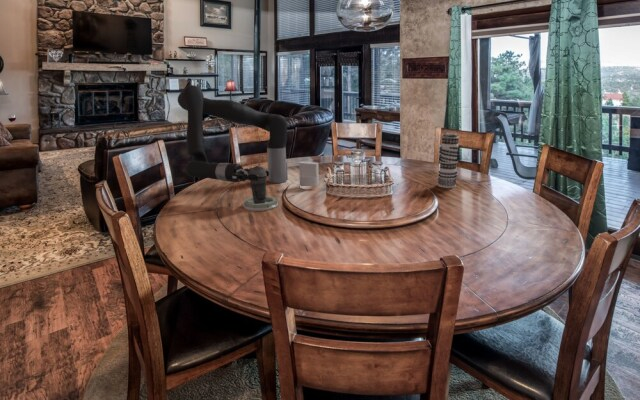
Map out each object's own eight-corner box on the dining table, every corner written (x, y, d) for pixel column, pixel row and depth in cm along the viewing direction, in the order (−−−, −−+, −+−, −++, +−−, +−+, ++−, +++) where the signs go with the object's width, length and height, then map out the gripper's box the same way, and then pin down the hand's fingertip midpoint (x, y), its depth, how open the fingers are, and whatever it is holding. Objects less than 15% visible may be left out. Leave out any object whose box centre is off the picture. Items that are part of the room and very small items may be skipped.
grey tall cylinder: (458, 184, 213) (462, 132, 206) (455, 188, 205) (459, 135, 198) (439, 182, 217) (442, 131, 210) (435, 187, 209) (438, 134, 202)
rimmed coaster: (259, 199, 189) (258, 194, 189) (284, 204, 182) (284, 198, 181) (236, 207, 178) (235, 201, 178) (262, 213, 171) (262, 206, 170)
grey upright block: (296, 188, 207) (296, 163, 204) (304, 184, 215) (304, 160, 212) (314, 190, 204) (313, 165, 200) (321, 186, 212) (321, 161, 208)
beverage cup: (251, 201, 183) (248, 154, 177) (269, 200, 184) (266, 153, 178) (250, 206, 176) (246, 157, 170) (268, 205, 177) (265, 156, 171)
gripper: (218, 166, 175) (253, 169, 169) (238, 160, 187) (272, 163, 181) (219, 185, 177) (254, 188, 171) (239, 177, 189) (272, 181, 183)
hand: (263, 175), depth 176 cm, fingers open, 8 cm apart
